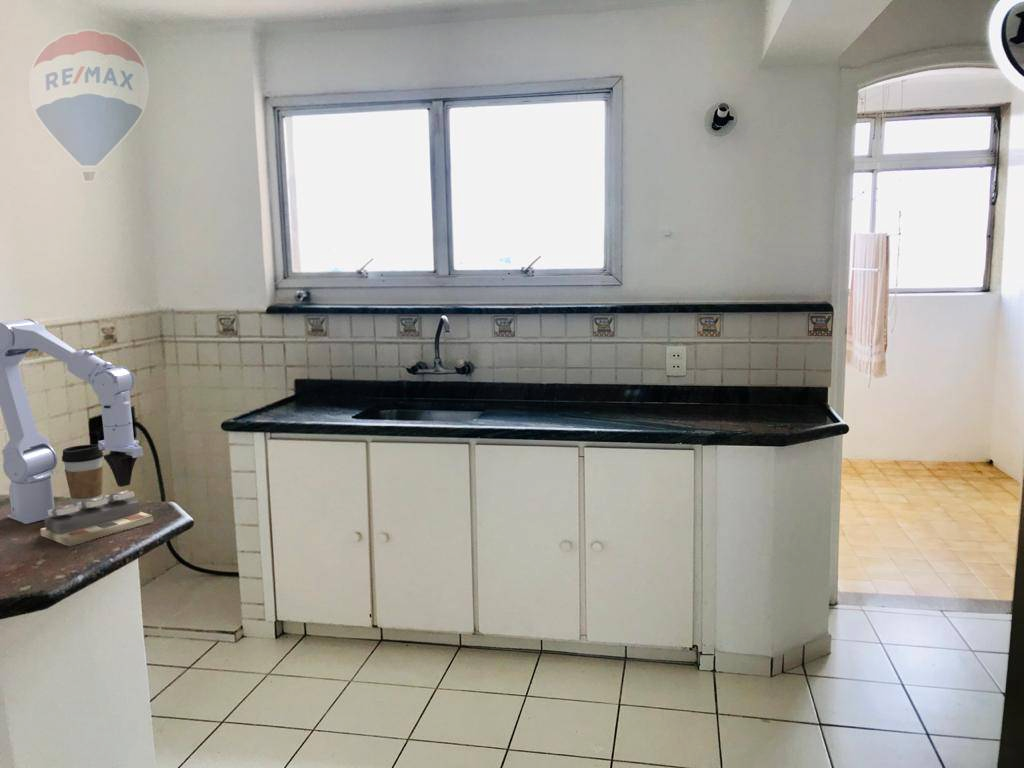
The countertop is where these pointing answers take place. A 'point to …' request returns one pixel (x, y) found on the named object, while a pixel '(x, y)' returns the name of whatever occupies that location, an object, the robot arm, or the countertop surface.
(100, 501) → the rocker middle
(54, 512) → the rocker end near
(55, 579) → the countertop surface
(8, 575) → the countertop surface
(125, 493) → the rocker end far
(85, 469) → the coffee cup
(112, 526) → the switch unit
